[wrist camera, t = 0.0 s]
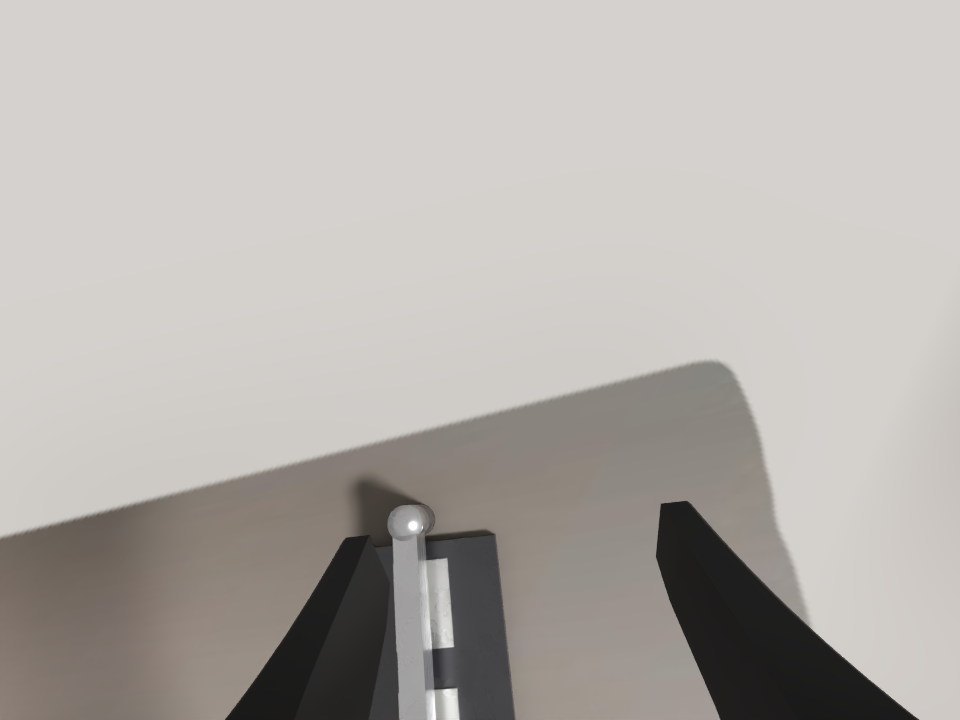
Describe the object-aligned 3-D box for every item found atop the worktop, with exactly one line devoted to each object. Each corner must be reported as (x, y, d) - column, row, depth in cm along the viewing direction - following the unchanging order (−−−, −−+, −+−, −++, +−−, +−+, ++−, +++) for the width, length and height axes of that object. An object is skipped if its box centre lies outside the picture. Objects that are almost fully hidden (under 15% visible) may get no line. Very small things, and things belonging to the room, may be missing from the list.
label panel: (524, 803, 35) (524, 827, 33) (353, 814, 36) (339, 838, 34) (491, 496, 42) (488, 496, 40) (349, 512, 43) (338, 513, 41)
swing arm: (447, 808, 33) (439, 838, 30) (410, 810, 34) (399, 841, 30) (427, 503, 40) (419, 503, 37) (397, 506, 40) (386, 507, 37)
